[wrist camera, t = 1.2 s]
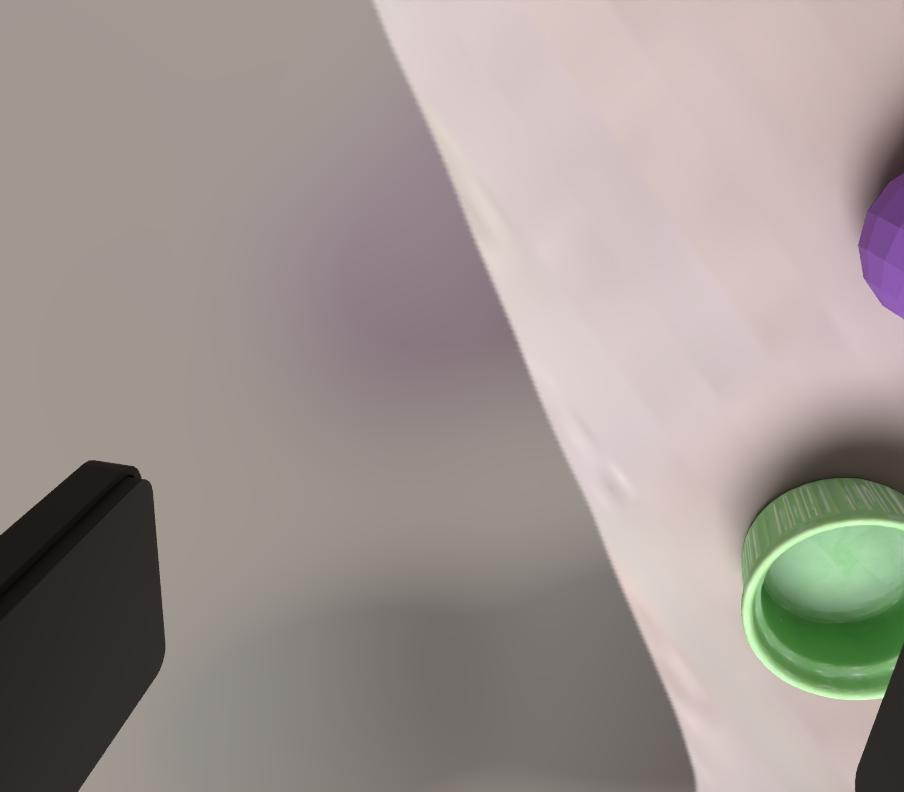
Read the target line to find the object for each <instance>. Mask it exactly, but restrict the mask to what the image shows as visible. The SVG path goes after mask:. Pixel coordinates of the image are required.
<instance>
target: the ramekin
mask: <svg viewBox="0 0 904 792" xmlns="http://www.w3.org/2000/svg"><path fill="white" fill-rule="evenodd" d="M742 578H743V594H742V604H741V616H742V623H743V628H744V632H745V635H746V638H747V640H748V642H749V644H750V646H751V648H752V650H753V651H754V653H755V654H756V656H757V657H758V658H759V659H760V661H761V662H762V663H763V664H764V665H765V666H766V667H767V668H768V669H769V670H770V671H771V672H773V673H774V674H775V675H776V676H778V677H779V678H780V679H782V680H784V681H785V682H787V683H789V684H791V685H793V686H795V687H797V688H799V689H802V690H805V691H807V692H810V693H813V694H817V695H821V696H825V697H830V698H836V699H844V700H868V699H878V698H883V697H884V695H885V692H886V689H887V687H888V684H889V681H890V678H891V676H892V673H893V670H894V668H895V665H896V662H897V660H898V657H899V654H900V651H901V649H902V646H903V643H904V495H903V494H901V493H900V492H898V491H896V490H894V489H892V488H890V487H887V486H885V485H882V484H879V483H876V482H872V481H868V480H864V479H859V478H832V479H824V480H819V481H815V482H811V483H807V484H804V485H802V486H799V487H797V488H795V489H792V490H790V491H788V492H786V493H784V494H782V495H781V496H779V497H778V498H777V499H775V500H774V501H772V502H771V503H770V504H769V505H768V506H767V507H766V508H765V509H764V510H763V511H762V512H761V513H760V514H759V515H758V516H757V518H756V519H755V521H754V522H753V524H752V525H751V527H750V529H749V531H748V534H747V536H746V539H745V542H744V547H743V551H742Z"/></svg>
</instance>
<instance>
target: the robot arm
mask: <svg viewBox="0 0 904 792" xmlns="http://www.w3.org/2000/svg"><path fill="white" fill-rule="evenodd" d="M159 574H160V573H159V561H158V549H157V538H156V526H155V513H154V501H153V491H152V486H151V484H150V482H149V481H147V480H145V479H141V475H140V473H139V471H138V469H137V468H135V467H134V466H128V465H122V464H115V463H109V462H102V461H95V460H92V461H88V462H86V463H84V464H83V465H82V466H80V467H79V468H78V469H77V470H76V471H75V472H73V473H72V474H71V475H70V476H69V477H68V478H66V479H65V480H64V481H63V482H62V483H61V484H59V485H58V486H57V487H56V488H55V489H54V490H53V491H51V492H50V493H49V494H48V495H47V496H46V497H44V498H43V499H42V500H41V501H40V502H39V503H38V504H36V505H35V506H34V507H33V508H32V509H30V510H29V511H28V512H27V513H26V514H25V515H23V516H22V517H21V518H20V519H19V520H18V521H17V522H15V523H14V524H13V525H12V526H11V527H10V528H8V529H7V530H6V531H5V532H4V533H3V534H2V535H0V792H78V791H79V789H80V788H81V786H82V785H83V783H84V782H85V780H86V779H87V777H88V776H89V774H90V773H91V771H92V770H93V768H94V767H95V765H96V764H97V762H98V761H99V760H100V758H101V757H102V755H103V754H104V752H105V751H106V749H107V748H108V746H109V745H110V744H111V742H112V741H113V739H114V738H115V736H116V735H117V733H118V732H119V730H120V729H121V727H122V726H123V724H124V723H125V722H126V720H127V719H128V717H129V716H130V714H131V713H132V711H133V710H134V708H135V707H136V705H137V704H138V702H139V701H140V699H141V698H142V697H143V695H144V694H145V692H146V691H147V689H148V688H149V686H150V685H151V683H152V682H153V680H154V679H155V677H156V676H157V674H158V672H159V671H160V668H161V665H162V663H163V658H164V654H165V634H164V622H163V610H162V598H161V586H160V575H159ZM855 792H904V643H903V646H902V649H901V651H900V654H899V657H898V660H897V662H896V665H895V668H894V670H893V673H892V676H891V678H890V681H889V684H888V687H887V689H886V692H885V695H884V697H883V700H882V703H881V705H880V708H879V711H878V714H877V716H876V719H875V722H874V724H873V727H872V730H871V732H870V735H869V738H868V741H867V743H866V746H865V749H864V751H863V754H862V757H861V759H860V762H859V765H858V768H857V772H856V779H855Z"/></svg>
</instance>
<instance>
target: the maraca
mask: <svg viewBox="0 0 904 792" xmlns="http://www.w3.org/2000/svg"><path fill="white" fill-rule="evenodd" d="M858 246H859V252H860V259H861V265H862V271H863V277H864V279H865V280H866V282H867V283H868V285H869V286H870V288H871V289H872V291H873V292H874V294H875V295H876V297H877V298H878V299H879V301H880V302H881V304H882V305H883V306H884V307H886V308H887V309H889V310H890V311H892V312H894V313H895V314H897V315H898V316H900V317H902V318H903V319H904V173H902V174H901V175H899V176H898V177H896V178H895V179H893V180H892V181H890V182H889V183H888V185H887V186H886V187H885V189H884V190H883V191H882V193H881V194H880V195H879V197H878V198H877V199H876V201H875V202H874V203H873V205H872V206H871V207H870V209H869V210H868V211H867V215H866V218H865V222H864V226H863V229H862V233H861V237H860V241H859V244H858Z"/></svg>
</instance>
